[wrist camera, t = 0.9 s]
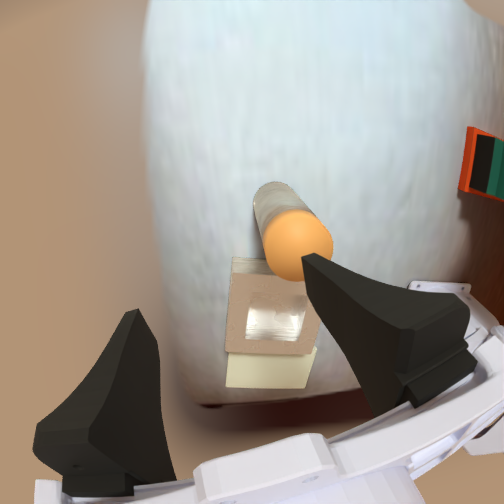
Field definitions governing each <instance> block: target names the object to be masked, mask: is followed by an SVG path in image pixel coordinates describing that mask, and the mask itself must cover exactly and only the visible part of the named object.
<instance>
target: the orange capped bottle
mask: <svg viewBox="0 0 504 504" xmlns="http://www.w3.org/2000/svg"><path fill="white" fill-rule="evenodd" d="M253 208H254V212H255V216H256V220H257V224H258V227H259V231H260V235H261V239H262V243H263V247H264V251H265V255H266V259H267V262H268V265H269V267H270V268H271V270H272V271H273V272H274V273H275V274H276V275H277V276H279V277H280V278H282V279H285V280H287V281H293V282H301V281H305V280H304V273H303V267H302V261H301V257H302V256H305V255H308V254H311V253H316V254H318V255H320V256H322V257H324V258H326V259H328V260H331V257H332V254H333V241H332V237H331V235H330V233H329V231H328V230H327V229H326V227H325V226H324V225H323V224H322V223H321V222H320V220H319V219H318V218H317V217H316V216H315V215H314V213H313V212H312V211H311V210H310V209H309V208H308V207H307V205H306V204H305V203H304V202H303V201H302V200H301V199H300V197H299V196H298V195H297V194H296V193H295V192H294V191H293V190H292V189H291V188H290V187H289V186H288V185H286V184H284V183H282V182H270V183H267V184H265V185H263V186H262V187H261V188H259V190H258V191H257V192H256V194H255V196H254V200H253Z"/></svg>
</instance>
